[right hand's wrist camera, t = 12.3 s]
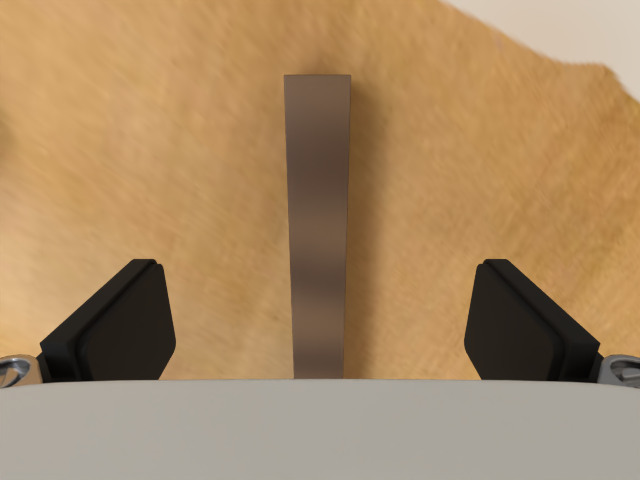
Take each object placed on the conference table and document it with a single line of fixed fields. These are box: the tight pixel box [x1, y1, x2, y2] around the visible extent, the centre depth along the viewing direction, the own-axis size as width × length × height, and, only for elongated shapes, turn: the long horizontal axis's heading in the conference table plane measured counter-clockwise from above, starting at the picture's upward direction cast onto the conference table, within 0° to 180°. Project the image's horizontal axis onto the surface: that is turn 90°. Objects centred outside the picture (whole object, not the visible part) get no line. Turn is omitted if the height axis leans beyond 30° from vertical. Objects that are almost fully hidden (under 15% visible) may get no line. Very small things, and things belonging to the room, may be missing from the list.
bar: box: [284, 75, 351, 379], centre depth 42 cm, size 82×4×6 cm, turn 0°
